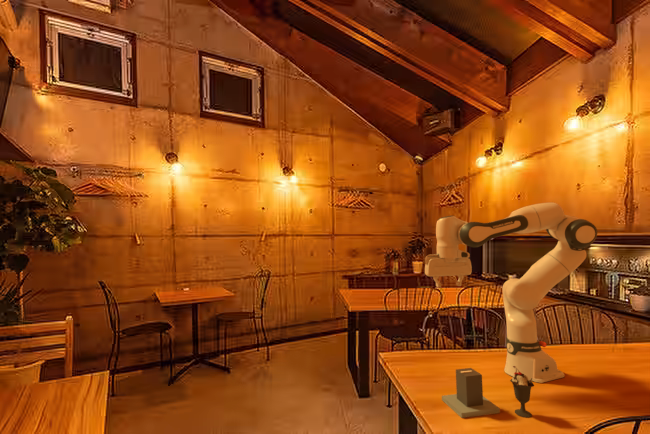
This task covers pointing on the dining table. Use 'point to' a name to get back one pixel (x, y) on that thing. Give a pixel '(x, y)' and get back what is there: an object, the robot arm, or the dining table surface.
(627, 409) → the dining table surface
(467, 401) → the slotted ballot box
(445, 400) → the post
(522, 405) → the sundae
